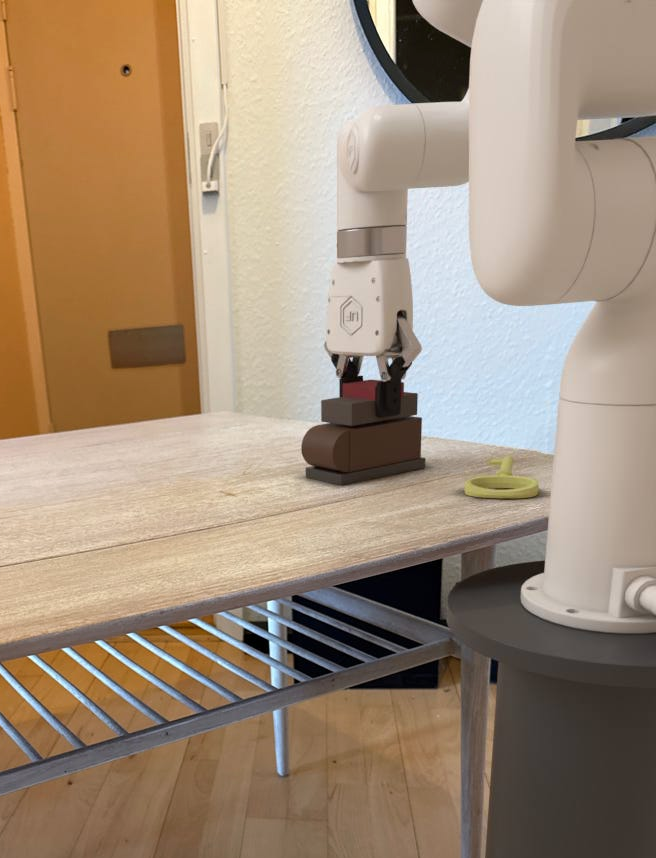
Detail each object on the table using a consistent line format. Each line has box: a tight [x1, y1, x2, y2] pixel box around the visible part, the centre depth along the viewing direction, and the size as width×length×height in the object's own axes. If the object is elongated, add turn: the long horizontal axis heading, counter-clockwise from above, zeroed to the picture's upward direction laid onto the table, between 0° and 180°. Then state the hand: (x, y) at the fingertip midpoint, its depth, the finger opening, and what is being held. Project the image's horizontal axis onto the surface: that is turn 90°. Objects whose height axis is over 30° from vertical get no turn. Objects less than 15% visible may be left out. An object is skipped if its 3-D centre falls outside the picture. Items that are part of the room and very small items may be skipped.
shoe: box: [300, 415, 426, 486], centre depth 109 cm, size 14×7×6 cm, turn 120°
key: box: [464, 454, 540, 499], centre depth 99 cm, size 7×12×2 cm, turn 176°
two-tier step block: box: [320, 379, 419, 426], centre depth 107 cm, size 10×6×4 cm, turn 120°
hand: (369, 412), depth 108 cm, fingers closed on two-tier step block, 5 cm apart
